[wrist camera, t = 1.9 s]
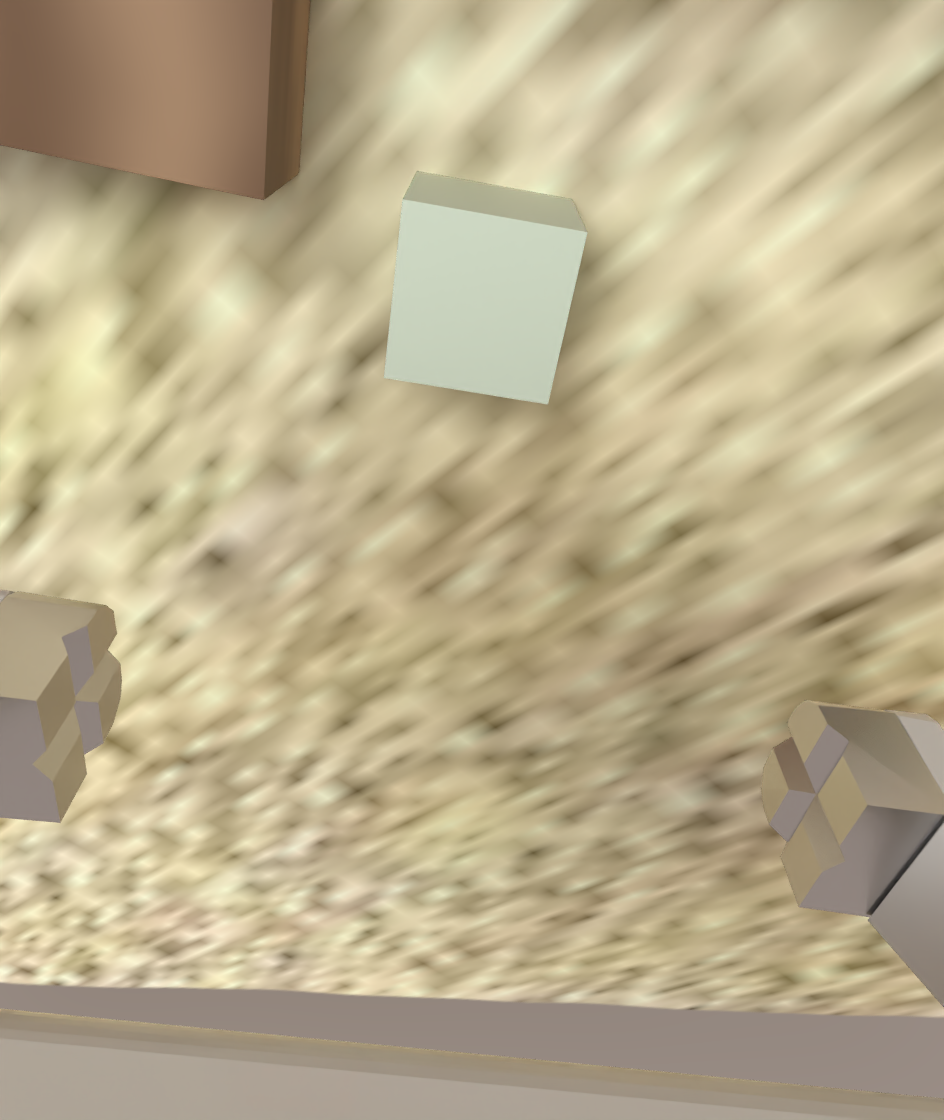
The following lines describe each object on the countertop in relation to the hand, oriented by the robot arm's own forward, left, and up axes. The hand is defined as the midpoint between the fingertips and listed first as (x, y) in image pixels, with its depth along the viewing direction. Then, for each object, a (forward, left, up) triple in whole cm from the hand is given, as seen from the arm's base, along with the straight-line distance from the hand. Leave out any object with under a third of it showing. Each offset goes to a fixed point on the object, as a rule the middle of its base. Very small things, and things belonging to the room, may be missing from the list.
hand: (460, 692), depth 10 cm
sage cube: (0, 0, -21) cm, 21 cm away
